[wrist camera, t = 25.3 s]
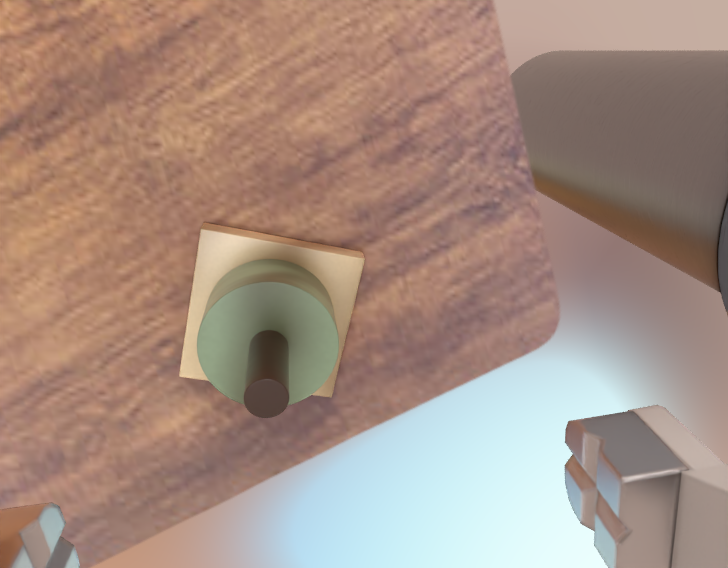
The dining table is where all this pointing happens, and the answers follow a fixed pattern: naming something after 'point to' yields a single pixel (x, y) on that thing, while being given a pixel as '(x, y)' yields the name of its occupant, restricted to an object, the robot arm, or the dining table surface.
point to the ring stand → (268, 316)
